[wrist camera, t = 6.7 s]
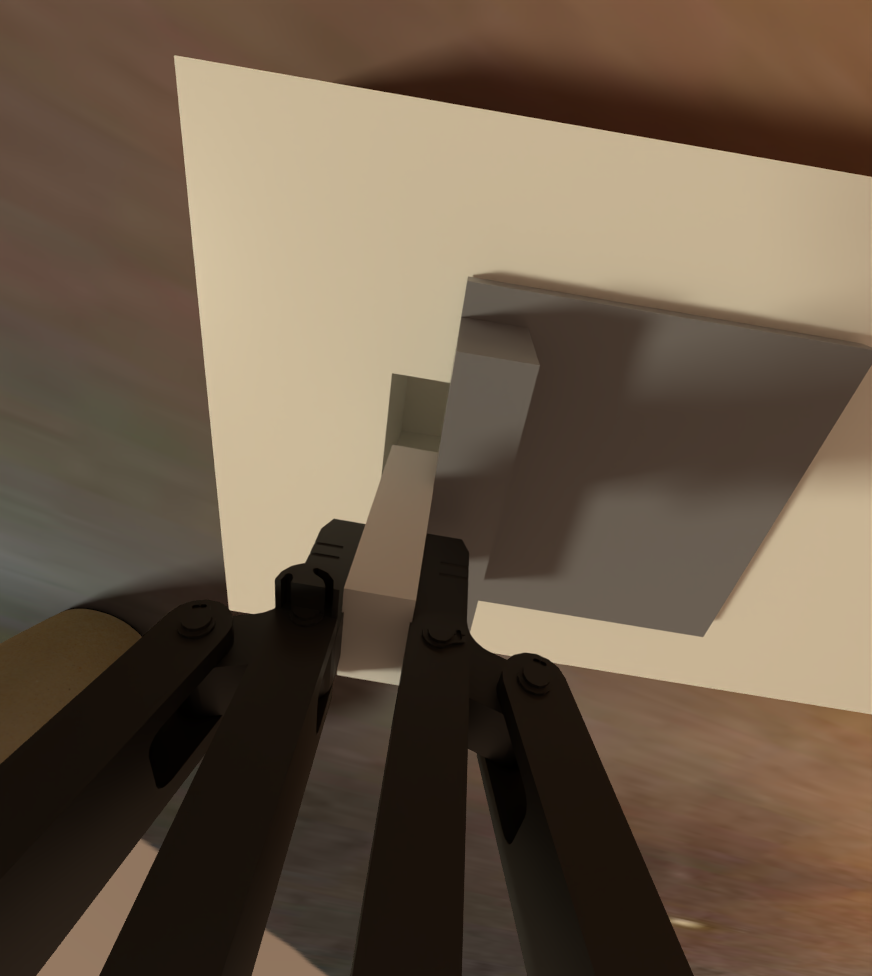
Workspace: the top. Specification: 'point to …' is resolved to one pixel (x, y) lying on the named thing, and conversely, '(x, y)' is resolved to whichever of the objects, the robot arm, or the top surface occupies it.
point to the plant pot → (54, 668)
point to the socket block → (436, 319)
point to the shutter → (624, 451)
